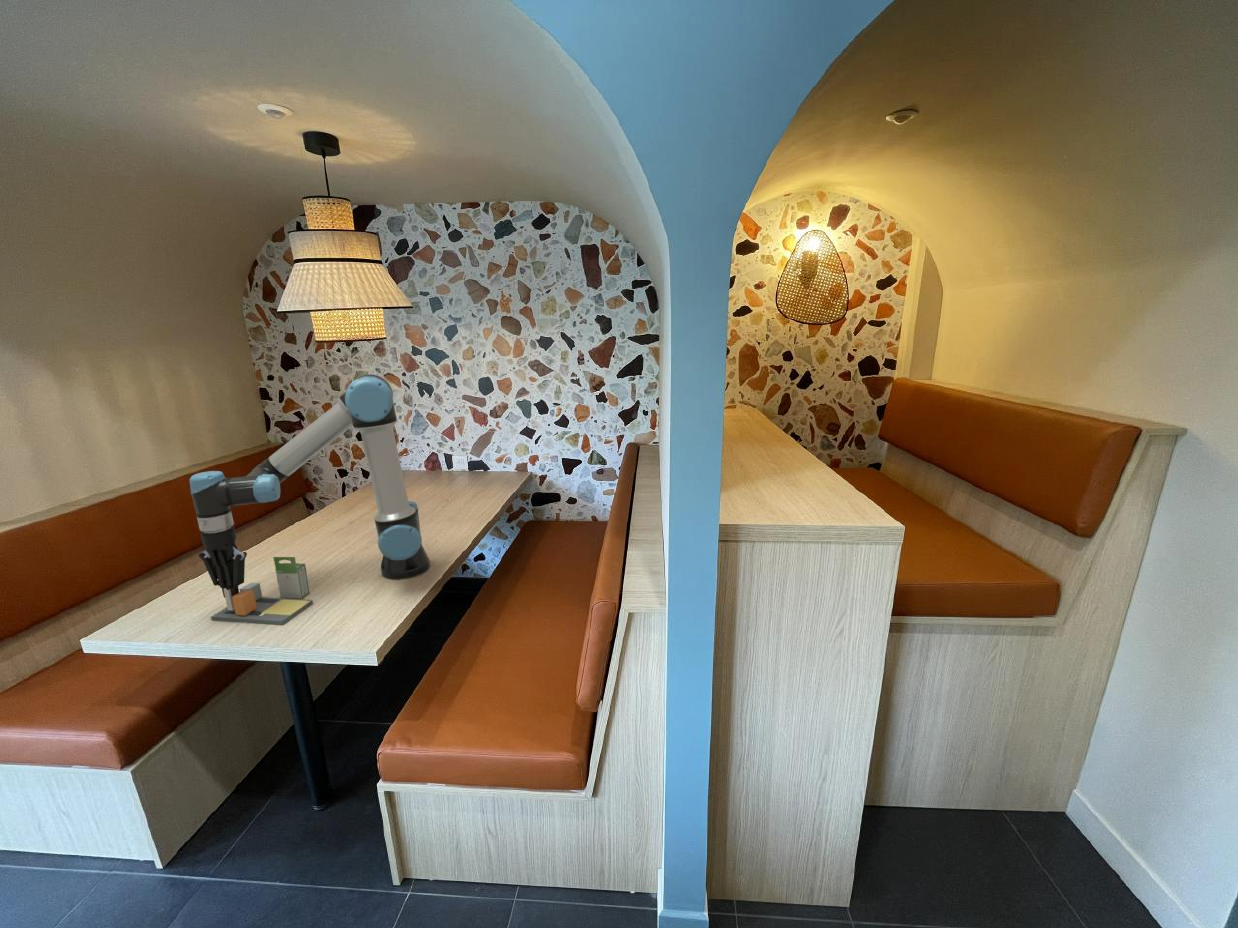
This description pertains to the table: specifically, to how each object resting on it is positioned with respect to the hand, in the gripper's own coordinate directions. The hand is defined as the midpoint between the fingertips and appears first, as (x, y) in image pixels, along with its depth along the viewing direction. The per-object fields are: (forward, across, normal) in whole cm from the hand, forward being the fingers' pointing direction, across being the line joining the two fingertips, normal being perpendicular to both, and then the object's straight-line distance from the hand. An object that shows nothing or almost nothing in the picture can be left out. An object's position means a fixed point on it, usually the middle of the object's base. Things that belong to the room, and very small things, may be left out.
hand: (234, 607), depth 152 cm
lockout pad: (+1, +13, +4) cm, 13 cm away
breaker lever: (+1, +4, 0) cm, 4 cm away
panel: (+3, +6, +3) cm, 7 cm away
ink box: (+3, +8, +13) cm, 16 cm away
